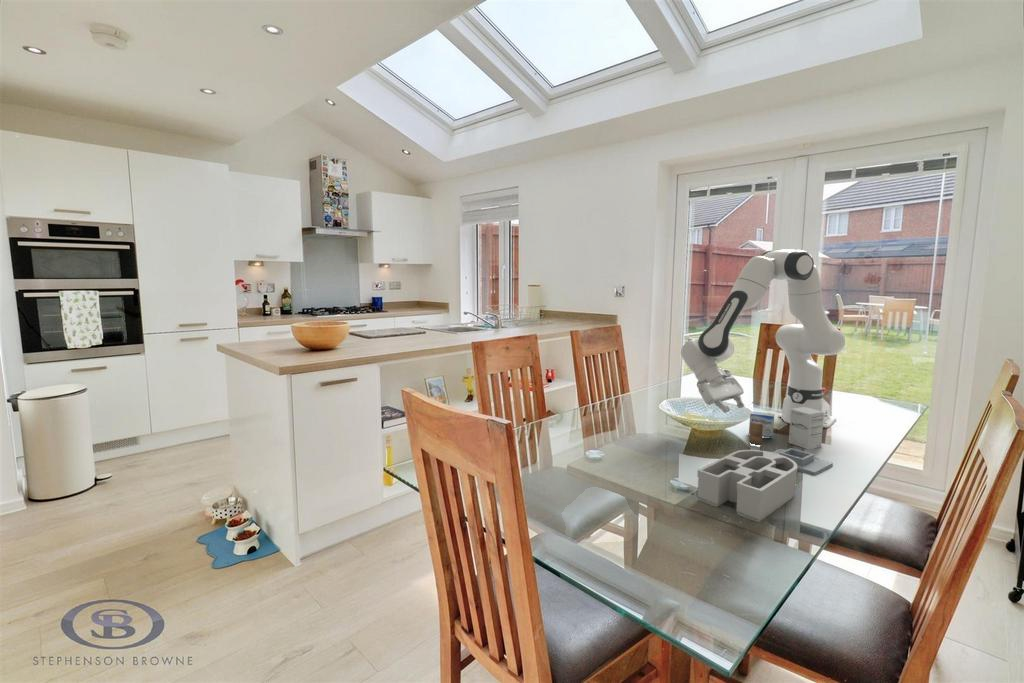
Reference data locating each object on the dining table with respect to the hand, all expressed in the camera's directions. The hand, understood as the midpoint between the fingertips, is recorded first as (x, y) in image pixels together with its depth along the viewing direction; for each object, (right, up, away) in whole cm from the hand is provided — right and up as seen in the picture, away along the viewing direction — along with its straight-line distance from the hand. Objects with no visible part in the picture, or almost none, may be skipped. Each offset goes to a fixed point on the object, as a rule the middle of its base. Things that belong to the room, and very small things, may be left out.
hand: (734, 409), depth 176 cm
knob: (+5, -12, -5) cm, 14 cm away
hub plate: (+10, -14, -21) cm, 27 cm away
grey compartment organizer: (-15, -18, -43) cm, 49 cm away
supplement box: (+22, -12, -5) cm, 26 cm away
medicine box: (+12, -11, +5) cm, 16 cm away
